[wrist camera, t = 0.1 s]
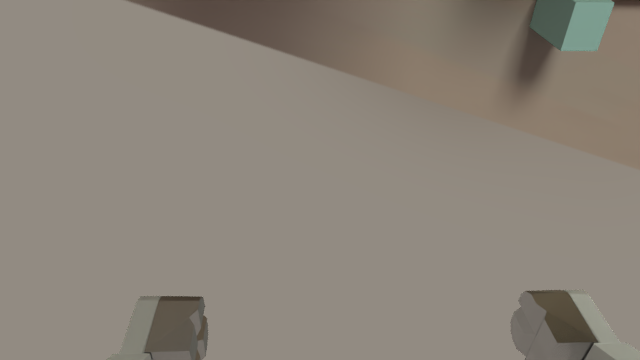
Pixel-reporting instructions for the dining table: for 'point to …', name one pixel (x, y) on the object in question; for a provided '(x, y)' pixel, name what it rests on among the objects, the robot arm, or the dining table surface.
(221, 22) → the dining table surface
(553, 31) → the teal block
